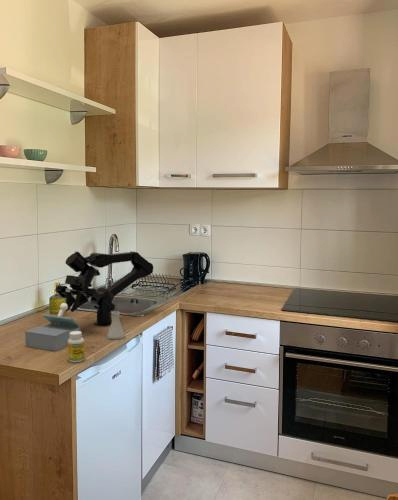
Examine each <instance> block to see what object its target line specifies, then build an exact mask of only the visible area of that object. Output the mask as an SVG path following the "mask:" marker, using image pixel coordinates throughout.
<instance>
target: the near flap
mask: <svg viewBox="0 0 398 500" xmlns="http://www.w3.org/2000/svg"><path fill="white" fill-rule="evenodd" d="M67 308H68V305H67V304H66V302H62V303H60V305H59V311H58V314H57V315H52V314H45V313H42V315H41V316H42V317H43V318H45V319H46V321H48V322H49V323H54V324H61V325H68V326H76V327H80V328H81V325H80V324H79V323H78V322H77V321H76V320H75V319H74V318H73V317H69V316H68V317H66V316H63V315H64V313H65V312H66V311H65V310H67Z"/></svg>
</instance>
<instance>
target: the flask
mask: <svg viewBox="0 0 398 500" xmlns="http://www.w3.org/2000/svg"><path fill="white" fill-rule="evenodd" d="M111 319H112V323H111V324H110V325H109V330H108V333H107V336H106V338H107V340H114V341H115V340H122V339H124V338H126V334H125V332H124V330H123V329H124V328H123V326H122V324H121V320H120V311H111Z"/></svg>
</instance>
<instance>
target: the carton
mask: <svg viewBox="0 0 398 500" xmlns="http://www.w3.org/2000/svg"><path fill="white" fill-rule="evenodd" d="M73 331H81V326H80V327H76V326H69V325H62V324H55V323H51V322H49V323H47V324H45V325H42V326H36V327H34V328H30V329H28V330H25V331H24V334H25V335H24V336H25V337H24V338H25V340H24V341H25V347H28V348H35V349H40V350H46V351H51V352H52V351H53V352H58V351H59V350H62V349H63V348H66V347H68V340H69V339H70V332H73Z"/></svg>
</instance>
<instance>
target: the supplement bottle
mask: <svg viewBox="0 0 398 500" xmlns="http://www.w3.org/2000/svg"><path fill="white" fill-rule="evenodd" d="M82 336H83V333H82V331H81V330H80V331H73V332H70V339H69V340H68V346H67V347H68V348H67V352H68V354H67V355H68V361H69V362H70V363H80V362H83V361H84V360H85V359H86V357H85V354H86V353H85V338H84V337H82Z"/></svg>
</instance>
